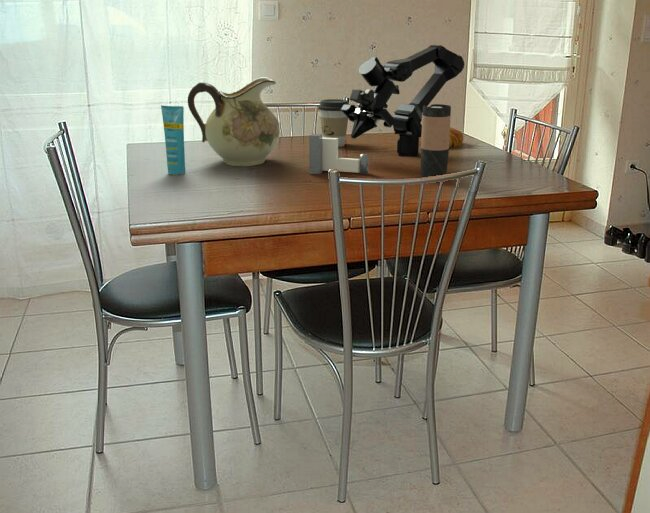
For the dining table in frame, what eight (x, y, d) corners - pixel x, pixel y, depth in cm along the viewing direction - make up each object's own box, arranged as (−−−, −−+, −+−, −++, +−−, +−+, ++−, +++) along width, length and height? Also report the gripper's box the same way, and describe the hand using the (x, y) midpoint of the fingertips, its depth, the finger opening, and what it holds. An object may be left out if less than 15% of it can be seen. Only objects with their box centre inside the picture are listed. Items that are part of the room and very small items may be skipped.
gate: (359, 171, 209) (360, 139, 206) (358, 172, 207) (358, 140, 204) (313, 168, 212) (313, 136, 209) (311, 169, 211) (311, 138, 208)
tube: (161, 174, 207) (156, 106, 201) (169, 170, 211) (164, 103, 205) (184, 175, 205) (180, 107, 198) (192, 172, 209) (188, 105, 203)
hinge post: (368, 172, 209) (368, 153, 207) (368, 174, 206) (368, 155, 204) (360, 172, 209) (360, 153, 207) (359, 174, 206) (359, 155, 205)
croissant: (418, 154, 245) (418, 131, 241) (423, 140, 258) (423, 118, 255) (462, 155, 242) (462, 132, 238) (464, 140, 255) (465, 118, 251)
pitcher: (295, 161, 223) (293, 78, 214) (237, 174, 206) (232, 85, 198) (247, 152, 237) (243, 74, 229) (189, 164, 221) (182, 80, 213)
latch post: (322, 172, 209) (322, 134, 206) (319, 174, 206) (319, 135, 203) (312, 171, 210) (312, 133, 206) (309, 173, 207) (309, 135, 204)
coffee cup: (311, 146, 247) (310, 101, 242) (328, 141, 256) (328, 97, 251) (339, 149, 241) (340, 103, 237) (356, 144, 251) (357, 100, 246)
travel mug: (446, 182, 197) (450, 108, 190) (418, 181, 199) (421, 107, 192) (447, 176, 204) (451, 104, 198) (420, 175, 206) (423, 103, 199)
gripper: (344, 77, 221) (317, 117, 218) (386, 80, 207) (358, 124, 204) (364, 100, 228) (338, 140, 225) (406, 105, 214) (379, 147, 211)
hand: (352, 137), depth 216 cm, fingers closed
